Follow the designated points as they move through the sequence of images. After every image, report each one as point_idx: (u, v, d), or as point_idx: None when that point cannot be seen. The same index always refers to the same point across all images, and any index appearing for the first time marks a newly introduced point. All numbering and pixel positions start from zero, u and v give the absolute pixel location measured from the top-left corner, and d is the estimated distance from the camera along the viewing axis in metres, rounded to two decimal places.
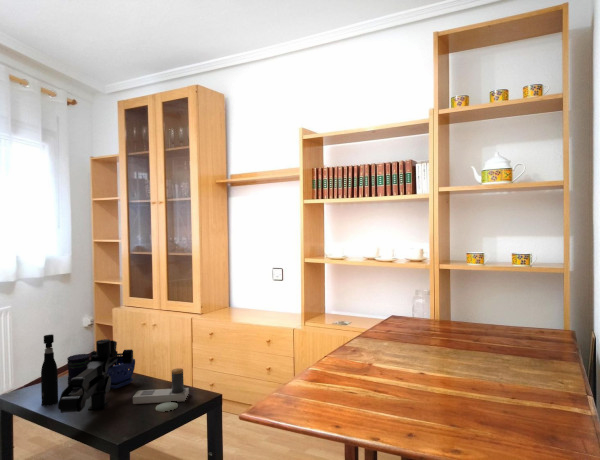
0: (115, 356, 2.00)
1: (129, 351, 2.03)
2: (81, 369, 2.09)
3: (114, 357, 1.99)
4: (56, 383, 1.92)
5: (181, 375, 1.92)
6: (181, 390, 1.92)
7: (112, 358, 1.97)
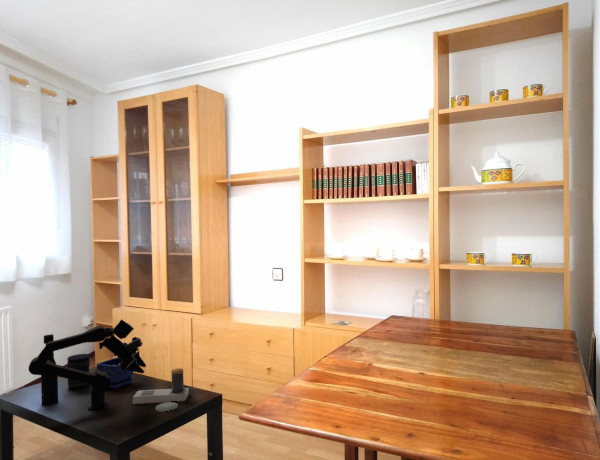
0: (125, 352, 1.88)
1: (129, 356, 1.83)
2: (81, 369, 2.09)
3: (123, 351, 1.88)
4: (56, 383, 1.92)
5: (181, 375, 1.92)
6: (181, 390, 1.92)
7: (119, 347, 1.87)
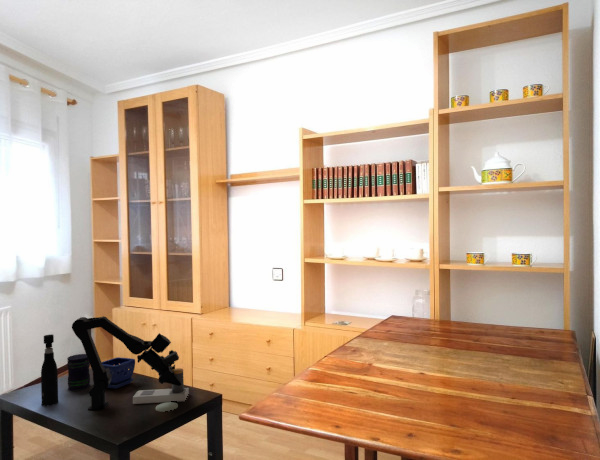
0: (163, 366, 1.90)
1: (167, 370, 1.85)
2: (81, 369, 2.09)
3: (160, 364, 1.90)
4: (56, 383, 1.92)
5: (181, 375, 1.92)
6: (181, 390, 1.92)
7: (156, 360, 1.90)
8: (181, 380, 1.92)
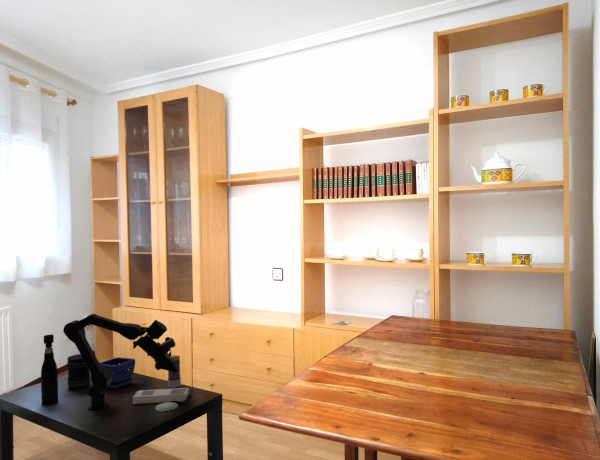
0: (159, 352, 1.87)
1: (164, 356, 1.82)
2: (81, 369, 2.09)
3: (156, 350, 1.87)
4: (56, 383, 1.92)
5: (177, 362, 1.90)
6: (177, 377, 1.90)
7: (153, 347, 1.87)
8: (177, 367, 1.90)
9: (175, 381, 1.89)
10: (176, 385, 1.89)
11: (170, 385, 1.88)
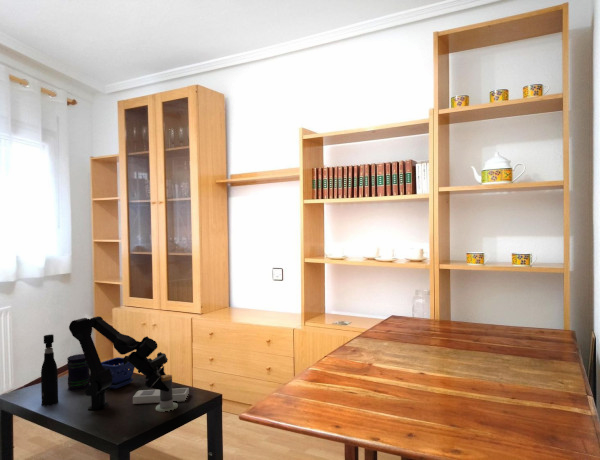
0: (150, 369, 1.79)
1: (155, 373, 1.74)
2: (81, 369, 2.09)
3: (147, 367, 1.79)
4: (56, 383, 1.92)
5: (169, 382, 1.82)
6: (170, 398, 1.82)
7: (143, 363, 1.79)
8: (170, 387, 1.82)
9: (167, 402, 1.81)
10: (168, 406, 1.81)
11: (162, 406, 1.80)
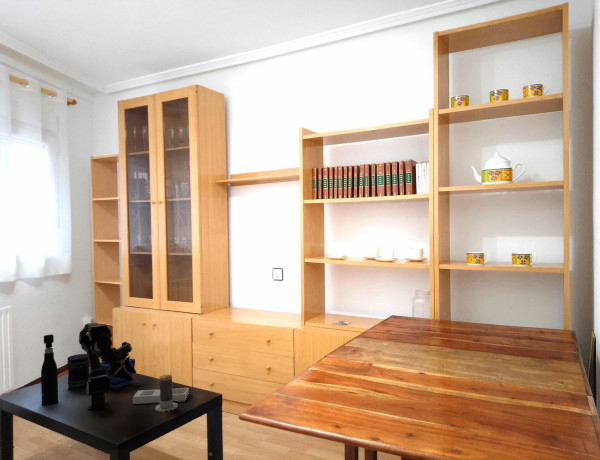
0: (114, 358, 1.79)
1: (117, 362, 1.74)
2: (81, 369, 2.09)
3: (111, 356, 1.79)
4: (56, 383, 1.92)
5: (169, 382, 1.82)
6: (170, 398, 1.82)
7: (107, 352, 1.79)
8: (170, 387, 1.82)
9: (167, 402, 1.81)
10: (168, 406, 1.81)
11: (162, 406, 1.80)
